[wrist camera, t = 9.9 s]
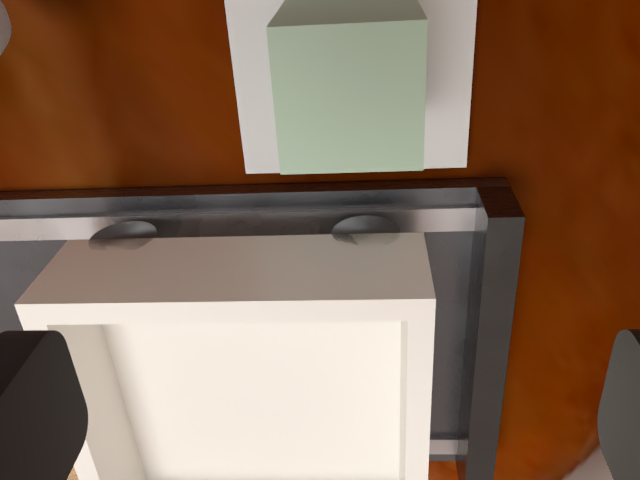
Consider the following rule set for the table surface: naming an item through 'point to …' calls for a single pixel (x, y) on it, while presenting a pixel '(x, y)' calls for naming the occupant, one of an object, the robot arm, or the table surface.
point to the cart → (247, 352)
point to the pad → (441, 81)
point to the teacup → (4, 28)
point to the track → (320, 218)
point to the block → (349, 85)
